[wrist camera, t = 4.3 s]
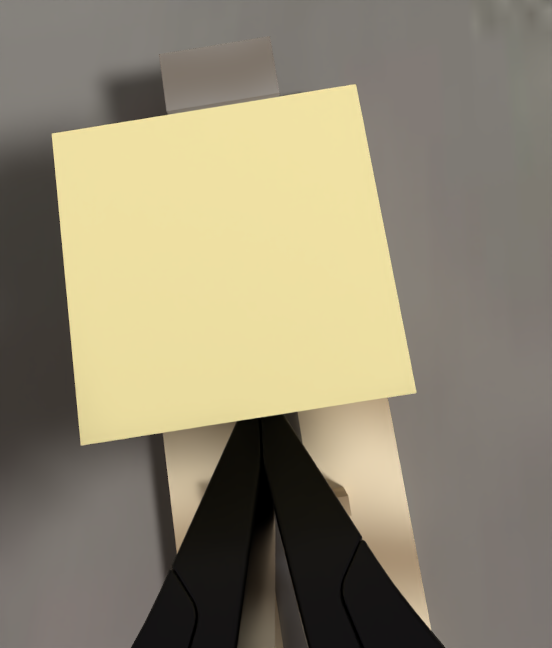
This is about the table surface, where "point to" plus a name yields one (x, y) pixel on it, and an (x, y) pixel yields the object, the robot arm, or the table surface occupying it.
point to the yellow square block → (226, 266)
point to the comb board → (310, 425)
